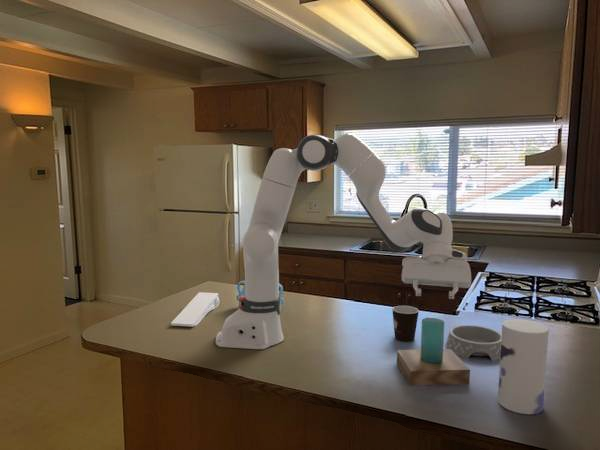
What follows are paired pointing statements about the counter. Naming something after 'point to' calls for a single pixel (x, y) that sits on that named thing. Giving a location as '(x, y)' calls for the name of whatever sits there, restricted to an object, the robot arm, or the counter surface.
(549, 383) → the counter surface
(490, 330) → the dog bowl
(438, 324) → the teal rounded cylinder
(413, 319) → the coffee mug
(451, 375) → the wavy tan tile
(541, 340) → the container
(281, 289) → the blue figurine
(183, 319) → the white curved piece
